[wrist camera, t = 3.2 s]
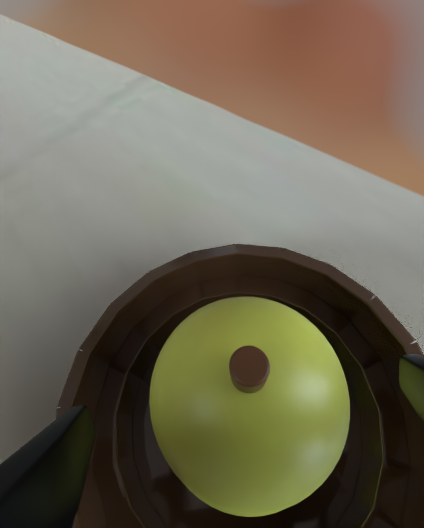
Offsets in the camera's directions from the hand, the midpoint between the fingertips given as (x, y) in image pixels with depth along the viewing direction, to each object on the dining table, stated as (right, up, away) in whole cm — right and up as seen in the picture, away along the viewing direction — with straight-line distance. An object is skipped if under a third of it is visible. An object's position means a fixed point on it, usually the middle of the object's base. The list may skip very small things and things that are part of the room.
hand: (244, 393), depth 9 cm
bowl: (+1, -4, +7) cm, 8 cm away
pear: (+1, -4, +6) cm, 7 cm away
